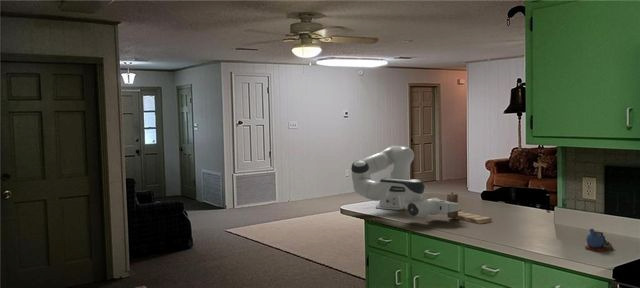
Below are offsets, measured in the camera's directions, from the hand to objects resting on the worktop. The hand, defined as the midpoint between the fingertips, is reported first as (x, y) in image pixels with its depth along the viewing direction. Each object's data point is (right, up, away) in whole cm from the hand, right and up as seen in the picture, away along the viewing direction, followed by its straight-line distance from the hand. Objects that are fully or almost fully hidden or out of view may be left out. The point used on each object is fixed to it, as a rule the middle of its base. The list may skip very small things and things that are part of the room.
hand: (453, 203), depth 294 cm
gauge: (+1, -8, +1) cm, 8 cm away
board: (+8, -9, -1) cm, 12 cm away
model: (+45, -12, -68) cm, 83 cm away
